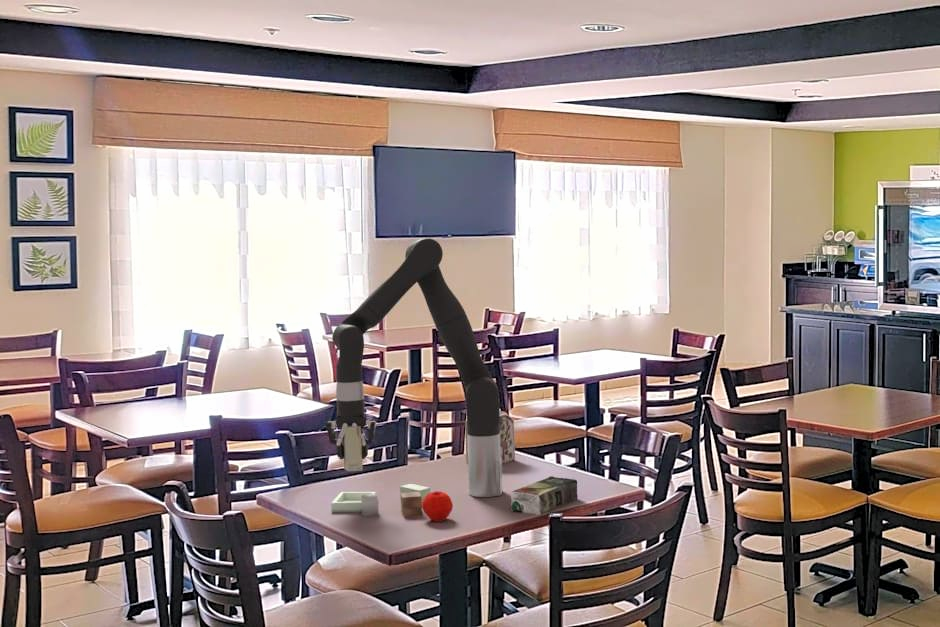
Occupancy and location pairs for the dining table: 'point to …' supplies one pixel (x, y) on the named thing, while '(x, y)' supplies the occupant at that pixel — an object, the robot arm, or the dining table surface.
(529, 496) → the juice carton
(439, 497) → the apple
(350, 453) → the skincare box
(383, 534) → the dining table surface
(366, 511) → the grey cylinder
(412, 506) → the walnut block
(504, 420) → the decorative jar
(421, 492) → the sage block
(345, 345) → the robot arm
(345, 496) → the tray
